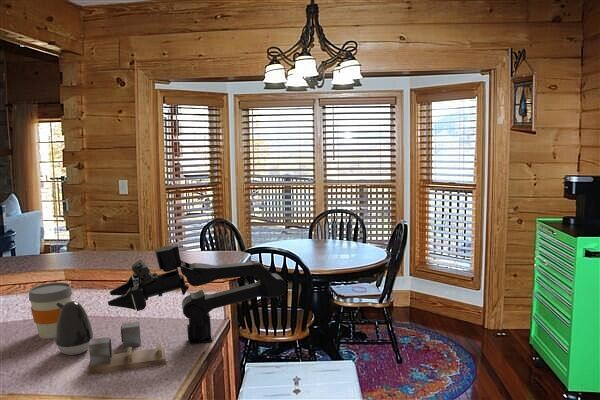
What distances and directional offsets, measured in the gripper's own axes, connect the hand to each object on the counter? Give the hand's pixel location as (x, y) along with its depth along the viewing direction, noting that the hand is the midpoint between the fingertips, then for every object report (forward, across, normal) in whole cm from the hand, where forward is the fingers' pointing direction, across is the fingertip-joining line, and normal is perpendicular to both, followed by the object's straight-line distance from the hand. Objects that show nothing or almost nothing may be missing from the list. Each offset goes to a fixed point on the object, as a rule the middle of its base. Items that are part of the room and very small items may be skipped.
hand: (109, 298), depth 156 cm
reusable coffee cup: (+22, -21, +13) cm, 33 cm away
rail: (-2, +11, +16) cm, 20 cm away
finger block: (-2, -3, +17) cm, 17 cm away
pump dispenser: (+14, -3, +14) cm, 20 cm away
